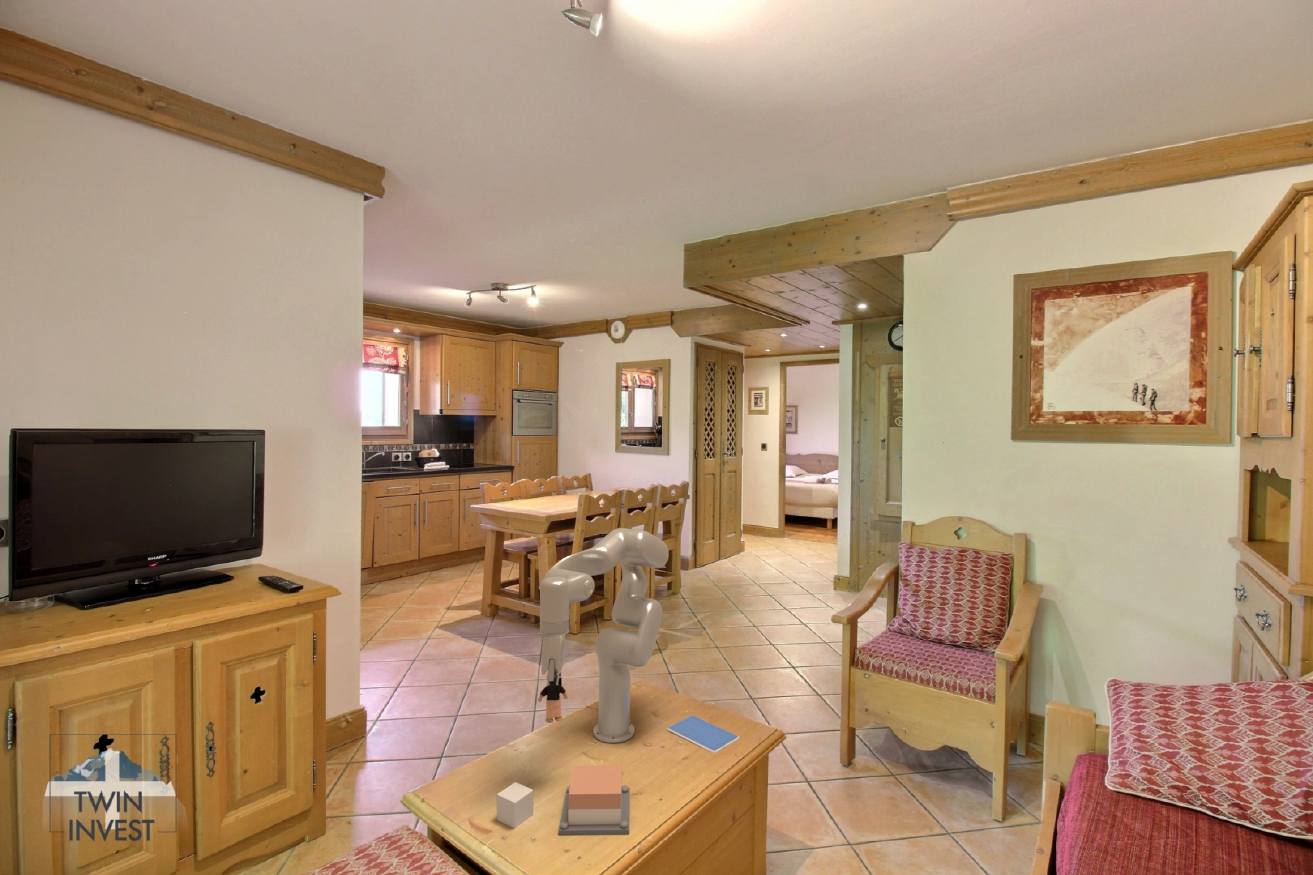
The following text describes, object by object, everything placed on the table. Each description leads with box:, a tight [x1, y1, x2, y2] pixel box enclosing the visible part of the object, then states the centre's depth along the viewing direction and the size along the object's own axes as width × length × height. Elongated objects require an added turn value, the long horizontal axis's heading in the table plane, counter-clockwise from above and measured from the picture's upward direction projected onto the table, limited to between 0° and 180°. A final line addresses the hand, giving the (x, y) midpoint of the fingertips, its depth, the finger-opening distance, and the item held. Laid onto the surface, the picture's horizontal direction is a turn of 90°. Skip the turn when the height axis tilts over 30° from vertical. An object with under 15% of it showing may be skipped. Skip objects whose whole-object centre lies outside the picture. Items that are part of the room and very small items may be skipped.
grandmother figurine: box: [537, 671, 569, 724], centre depth 154 cm, size 8×4×13 cm, turn 123°
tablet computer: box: [666, 715, 740, 754], centre depth 181 cm, size 19×13×1 cm, turn 46°
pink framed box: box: [557, 764, 631, 836], centre depth 142 cm, size 16×16×8 cm
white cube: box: [496, 781, 534, 829], centre depth 140 cm, size 6×6×6 cm
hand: (554, 695), depth 154 cm, fingers closed on grandmother figurine, 3 cm apart
